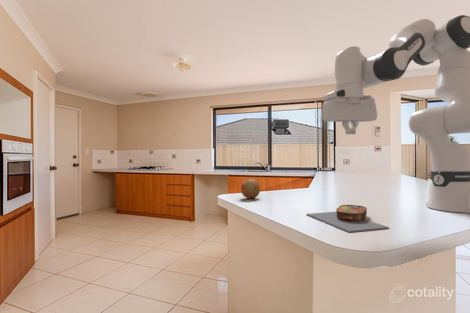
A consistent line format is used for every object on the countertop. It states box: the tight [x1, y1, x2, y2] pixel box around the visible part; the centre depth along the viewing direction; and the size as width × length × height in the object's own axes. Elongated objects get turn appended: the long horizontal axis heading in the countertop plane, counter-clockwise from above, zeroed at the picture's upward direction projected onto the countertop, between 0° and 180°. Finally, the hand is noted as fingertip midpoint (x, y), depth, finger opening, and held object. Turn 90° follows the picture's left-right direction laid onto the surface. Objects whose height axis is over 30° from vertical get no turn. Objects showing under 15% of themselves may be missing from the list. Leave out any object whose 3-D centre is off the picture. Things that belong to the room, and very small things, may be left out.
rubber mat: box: [306, 211, 390, 233], centre depth 79 cm, size 13×22×1 cm, turn 14°
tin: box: [335, 204, 368, 221], centre depth 83 cm, size 15×3×8 cm
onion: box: [240, 178, 261, 199], centre depth 127 cm, size 10×10×10 cm
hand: (350, 134), depth 88 cm, fingers closed
